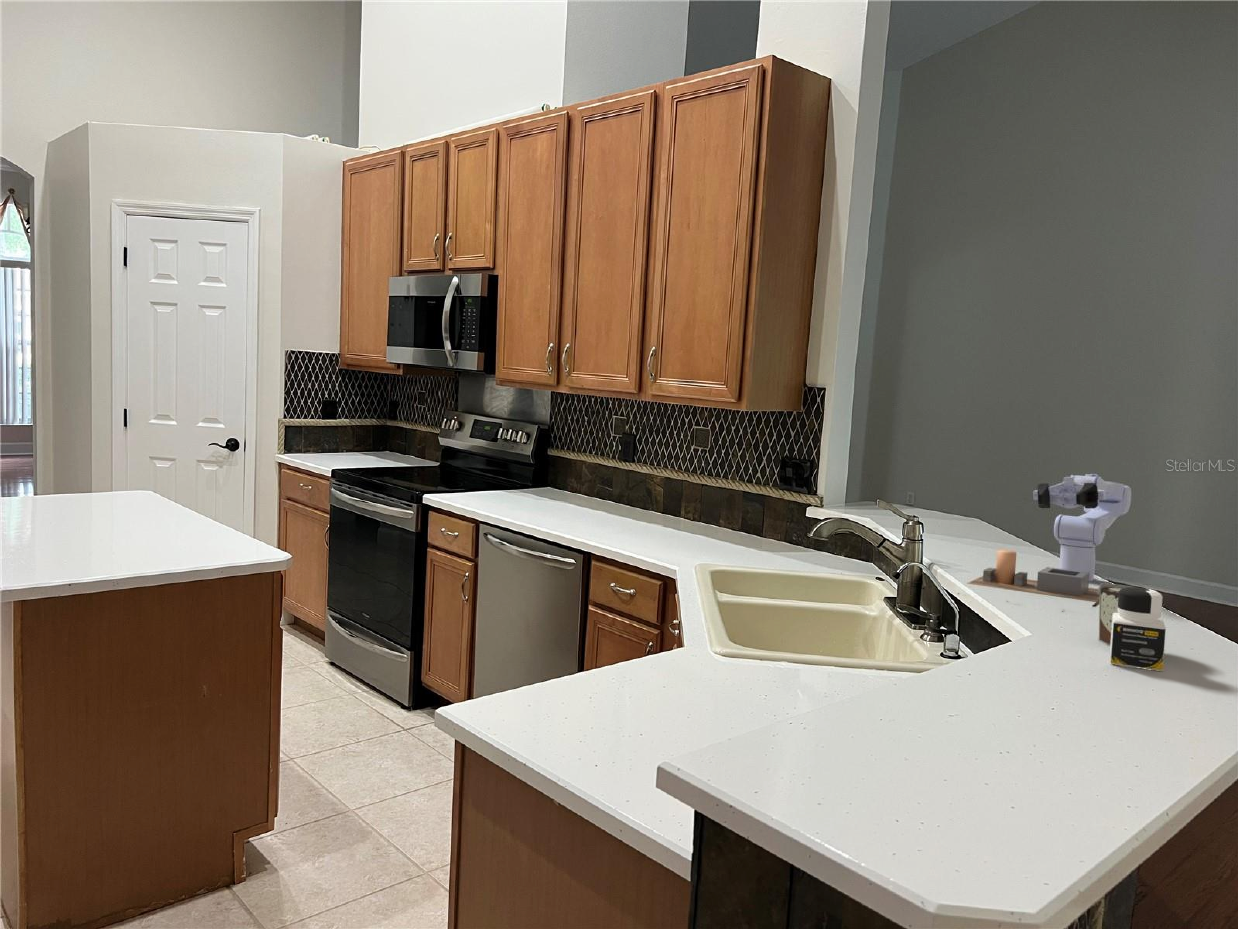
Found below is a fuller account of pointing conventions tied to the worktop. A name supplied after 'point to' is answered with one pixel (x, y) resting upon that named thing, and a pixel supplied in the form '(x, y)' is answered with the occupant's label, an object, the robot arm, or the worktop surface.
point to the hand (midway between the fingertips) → (1058, 499)
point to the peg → (1005, 567)
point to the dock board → (1029, 586)
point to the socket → (1063, 581)
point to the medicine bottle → (1138, 629)
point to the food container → (1107, 609)
